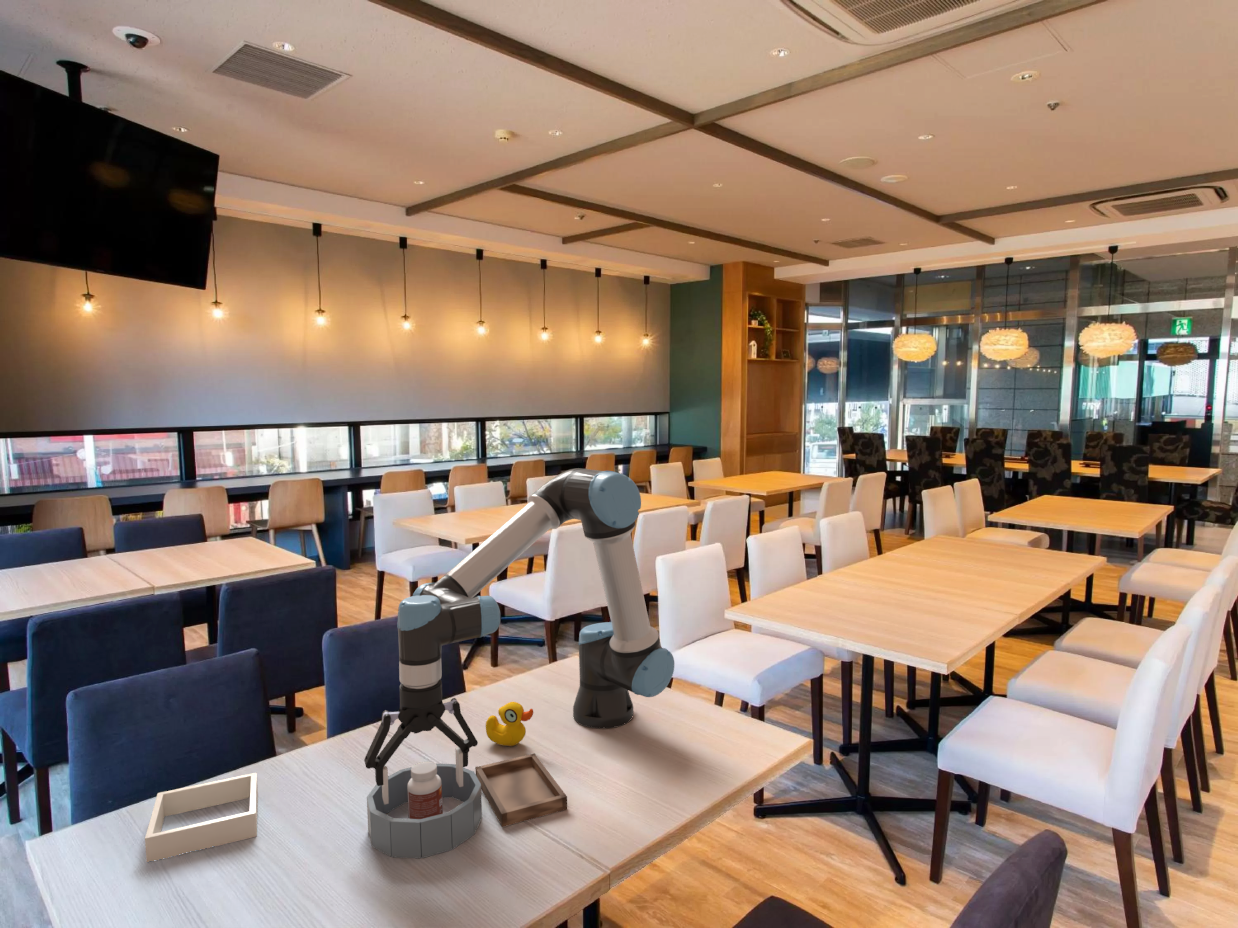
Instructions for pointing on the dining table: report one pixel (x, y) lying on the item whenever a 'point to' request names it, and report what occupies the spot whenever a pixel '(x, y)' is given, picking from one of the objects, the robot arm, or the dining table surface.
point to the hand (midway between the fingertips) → (423, 791)
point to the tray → (520, 789)
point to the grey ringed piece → (428, 832)
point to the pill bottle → (424, 791)
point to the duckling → (508, 724)
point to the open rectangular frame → (204, 832)
